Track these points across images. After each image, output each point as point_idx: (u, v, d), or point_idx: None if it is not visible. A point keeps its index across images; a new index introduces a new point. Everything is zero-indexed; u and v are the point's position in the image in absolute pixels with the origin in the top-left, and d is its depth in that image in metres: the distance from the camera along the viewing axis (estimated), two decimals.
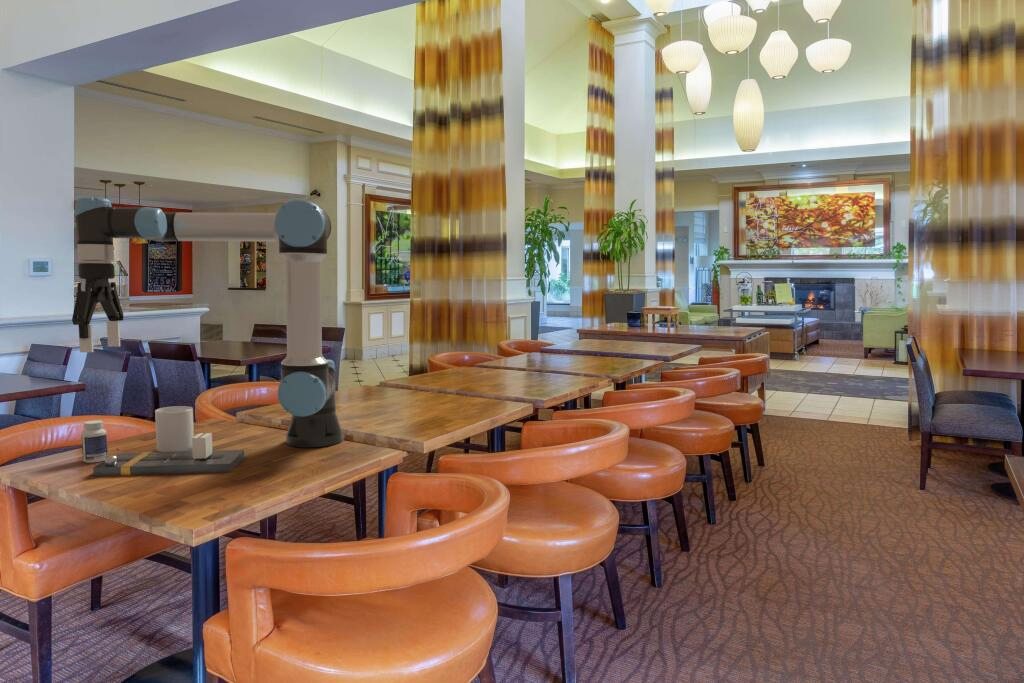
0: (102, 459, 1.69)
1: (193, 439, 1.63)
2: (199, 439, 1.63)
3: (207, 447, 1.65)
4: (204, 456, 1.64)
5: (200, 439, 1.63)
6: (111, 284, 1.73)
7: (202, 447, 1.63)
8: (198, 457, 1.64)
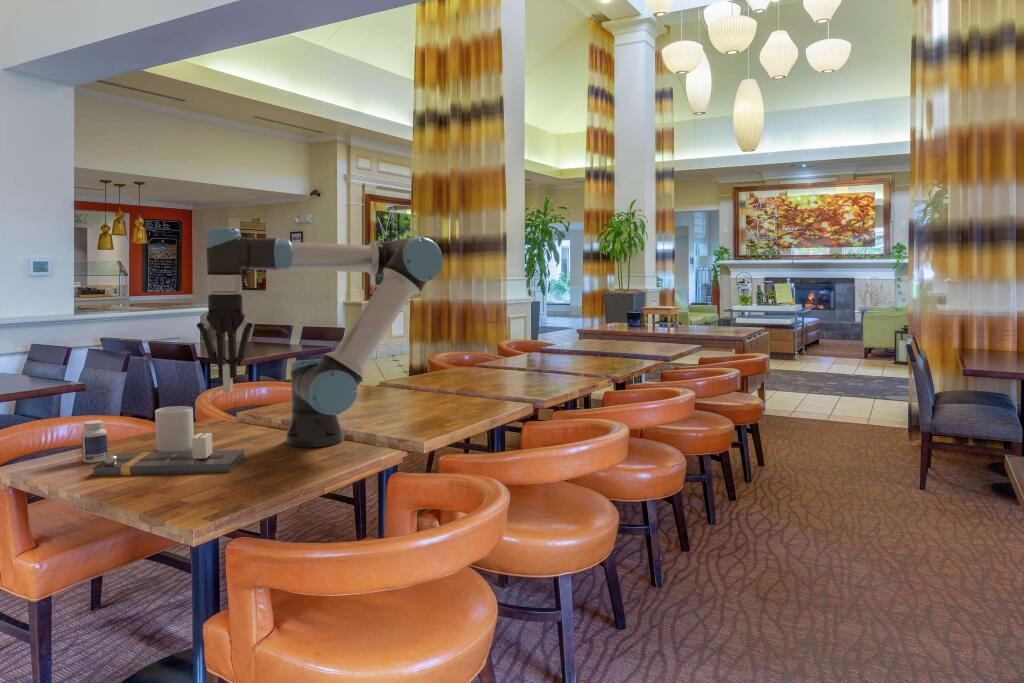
0: (102, 459, 1.69)
1: (193, 439, 1.63)
2: (199, 439, 1.63)
3: (207, 447, 1.65)
4: (204, 456, 1.64)
5: (200, 439, 1.63)
6: None
7: (202, 447, 1.63)
8: (198, 457, 1.64)
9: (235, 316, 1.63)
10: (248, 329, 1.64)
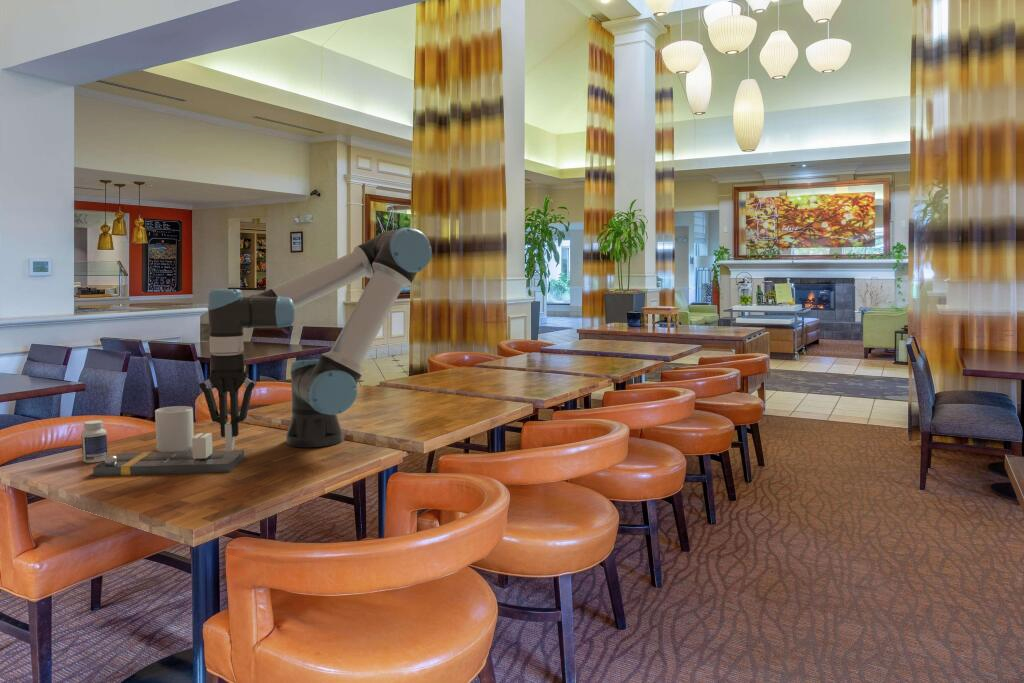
0: (102, 459, 1.69)
1: (193, 439, 1.63)
2: (199, 439, 1.63)
3: (207, 447, 1.65)
4: (204, 456, 1.64)
5: (200, 439, 1.63)
6: (250, 382, 1.65)
7: (202, 447, 1.63)
8: (198, 457, 1.64)
9: (237, 376, 1.64)
10: (250, 389, 1.65)
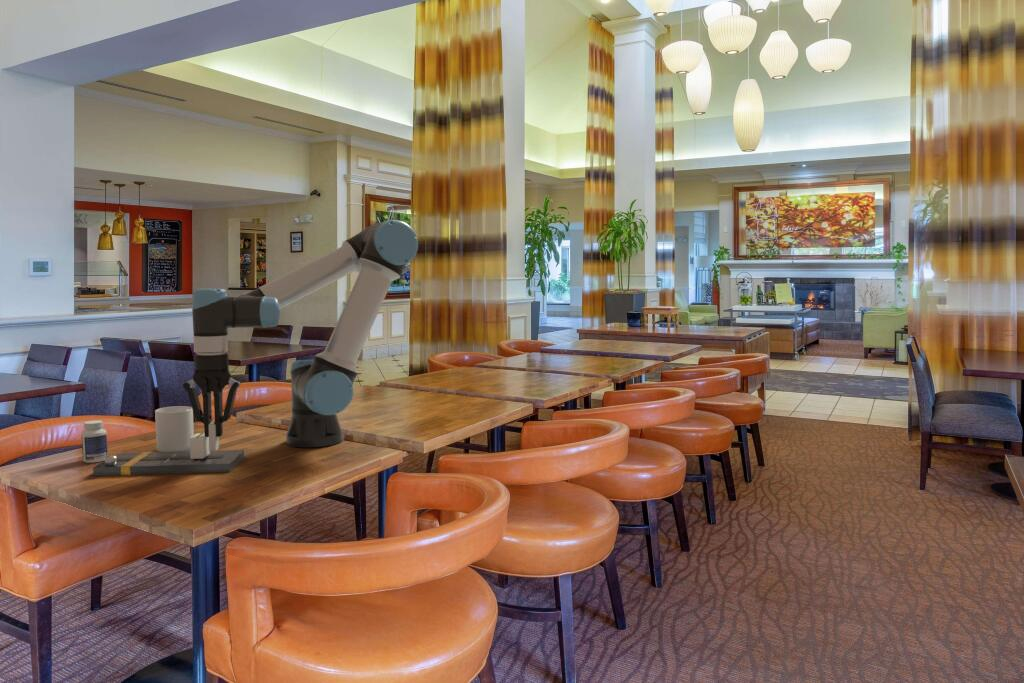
0: (102, 459, 1.69)
1: (191, 439, 1.63)
2: (197, 439, 1.63)
3: (204, 447, 1.65)
4: (202, 456, 1.64)
5: (198, 439, 1.63)
6: (234, 382, 1.65)
7: (200, 447, 1.63)
8: (196, 457, 1.63)
9: (221, 376, 1.64)
10: (234, 388, 1.64)
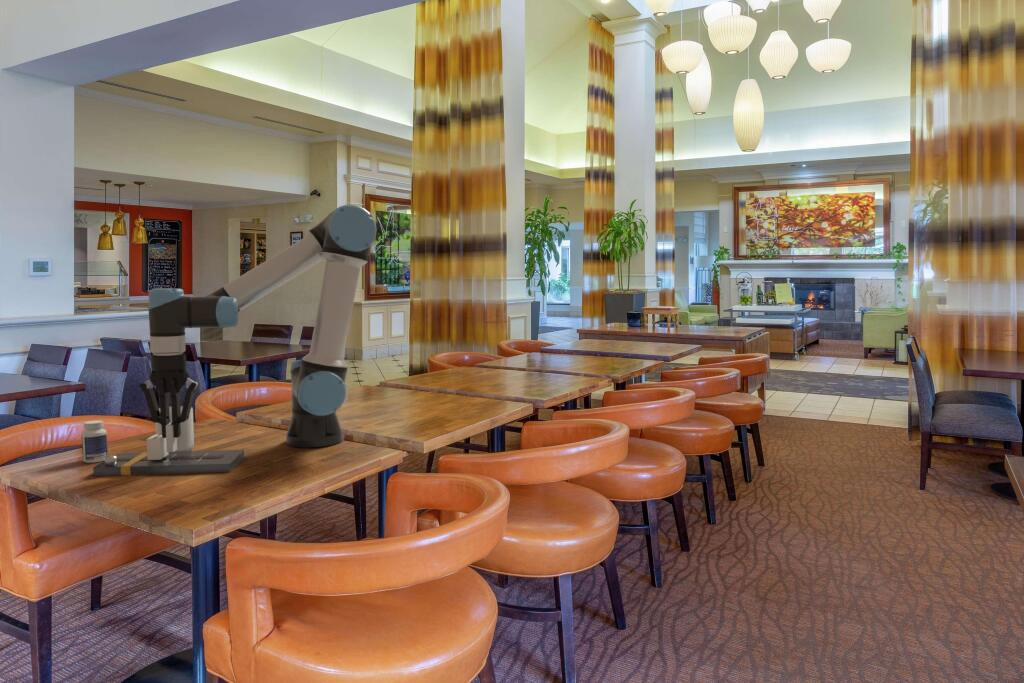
0: (102, 459, 1.69)
1: (147, 440, 1.62)
2: (154, 440, 1.62)
3: (162, 448, 1.63)
4: (159, 457, 1.62)
5: (155, 440, 1.62)
6: None
7: (157, 448, 1.62)
8: (153, 458, 1.62)
9: (178, 376, 1.62)
10: (191, 389, 1.63)
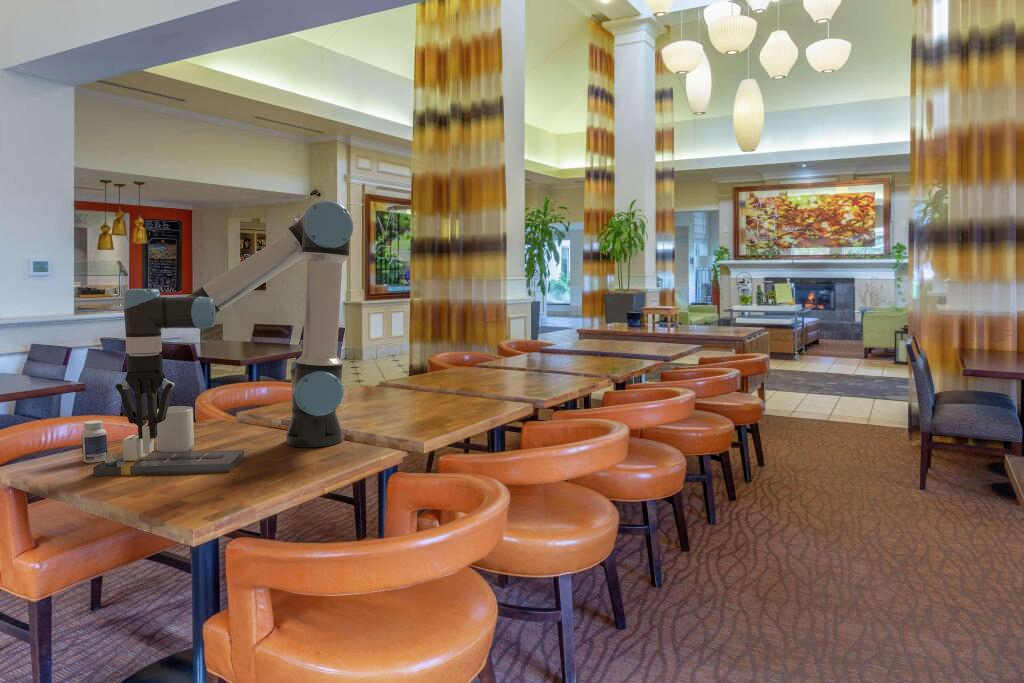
0: (102, 459, 1.69)
1: (123, 441, 1.61)
2: (129, 441, 1.61)
3: (138, 449, 1.63)
4: (135, 458, 1.62)
5: (130, 441, 1.61)
6: None
7: (133, 449, 1.61)
8: (129, 459, 1.62)
9: (154, 377, 1.62)
10: (168, 390, 1.62)
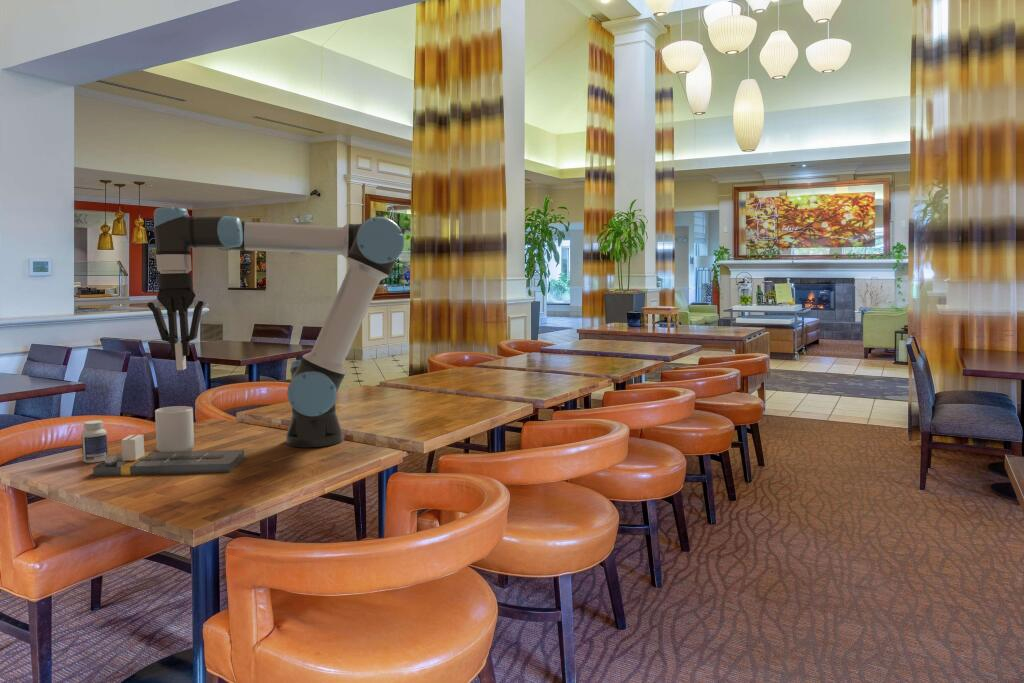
0: (102, 459, 1.69)
1: (122, 441, 1.61)
2: (128, 441, 1.61)
3: (137, 449, 1.63)
4: (134, 458, 1.62)
5: (129, 441, 1.61)
6: None
7: (132, 449, 1.61)
8: (128, 459, 1.61)
9: (186, 295, 1.65)
10: (199, 307, 1.66)
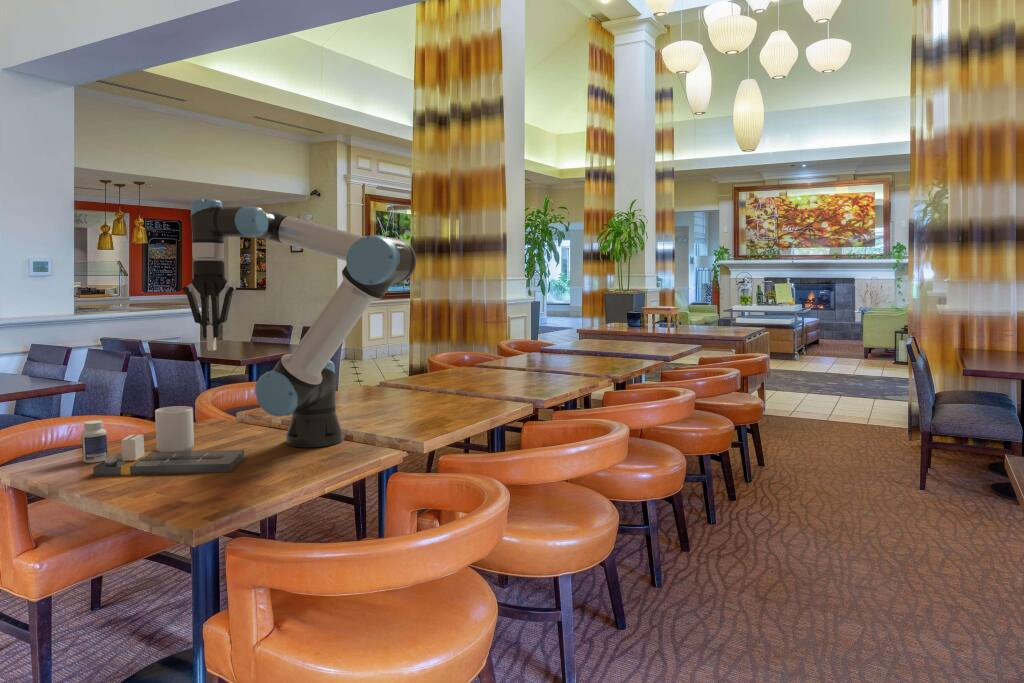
0: (102, 459, 1.69)
1: (122, 441, 1.61)
2: (128, 441, 1.61)
3: (137, 449, 1.63)
4: (134, 458, 1.62)
5: (129, 441, 1.61)
6: None
7: (132, 449, 1.61)
8: (128, 459, 1.61)
9: (218, 280, 1.78)
10: (230, 292, 1.78)
